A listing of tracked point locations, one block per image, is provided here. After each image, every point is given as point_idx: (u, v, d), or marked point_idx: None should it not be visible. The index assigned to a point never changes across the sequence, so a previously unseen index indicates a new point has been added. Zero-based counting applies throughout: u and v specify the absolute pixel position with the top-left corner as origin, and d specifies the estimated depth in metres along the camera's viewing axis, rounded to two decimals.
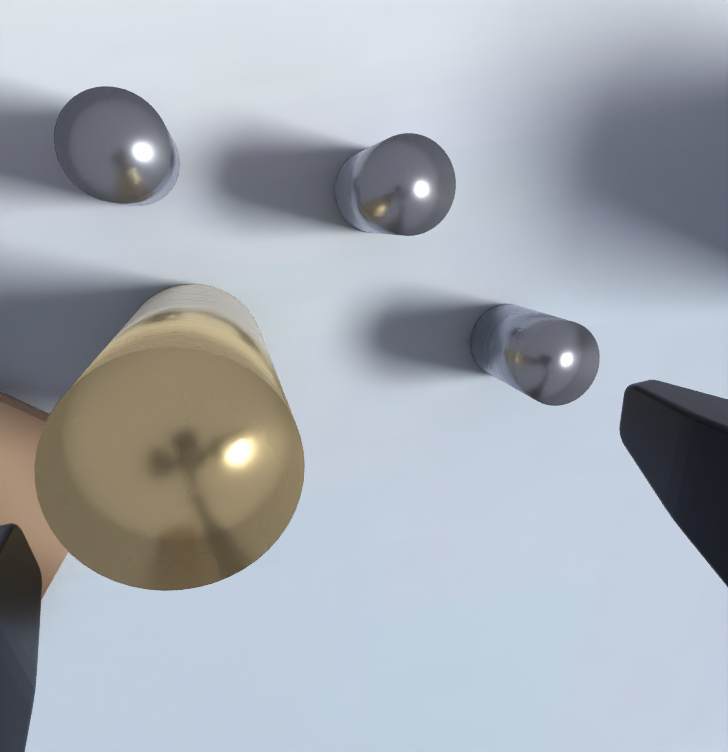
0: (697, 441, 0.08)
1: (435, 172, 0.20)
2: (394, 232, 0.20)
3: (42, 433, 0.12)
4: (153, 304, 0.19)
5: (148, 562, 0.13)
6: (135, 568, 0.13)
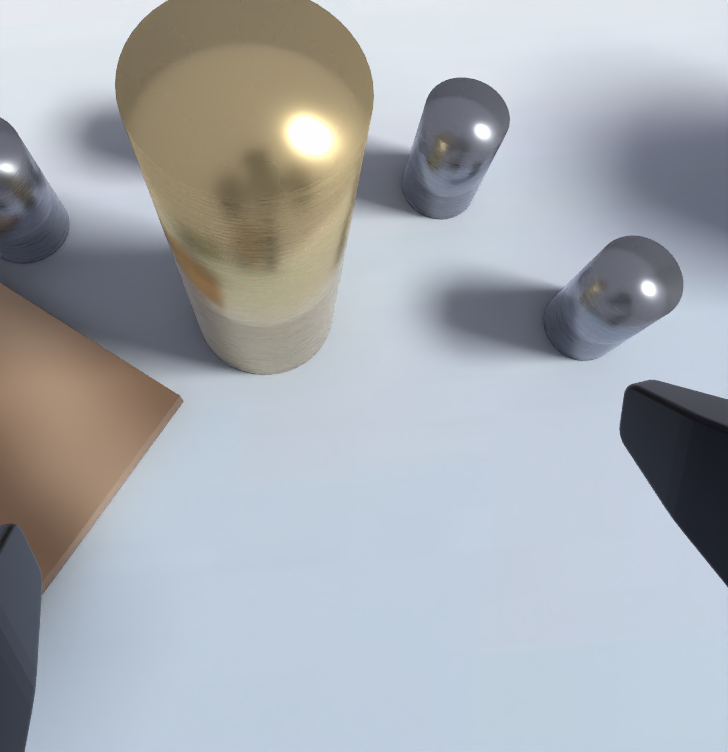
0: (697, 441, 0.08)
1: (490, 106, 0.22)
2: (456, 148, 0.22)
3: (133, 33, 0.13)
4: None
5: (208, 161, 0.12)
6: (194, 165, 0.12)
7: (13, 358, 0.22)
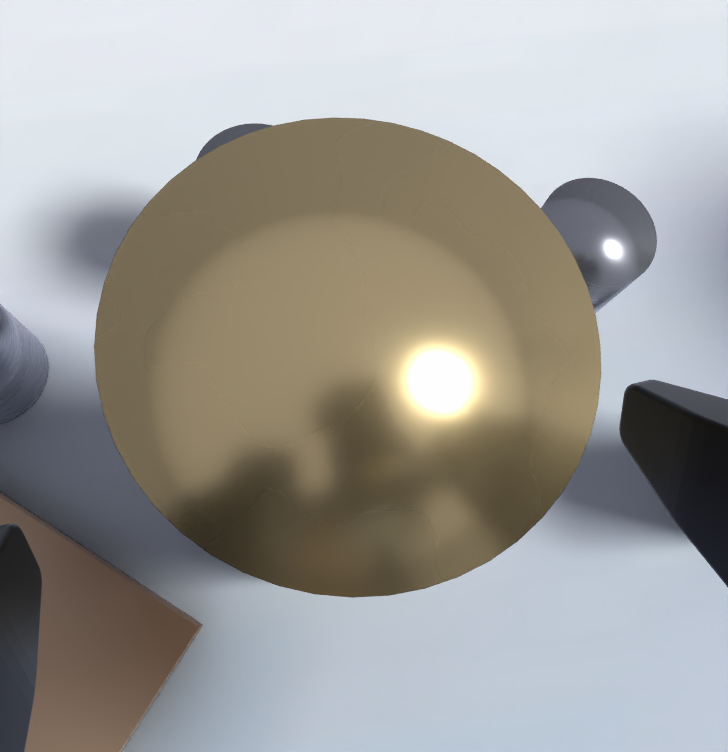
0: (697, 441, 0.08)
1: (628, 218, 0.16)
2: (587, 281, 0.15)
3: (132, 230, 0.06)
4: None
5: (288, 517, 0.06)
6: (259, 528, 0.06)
7: None
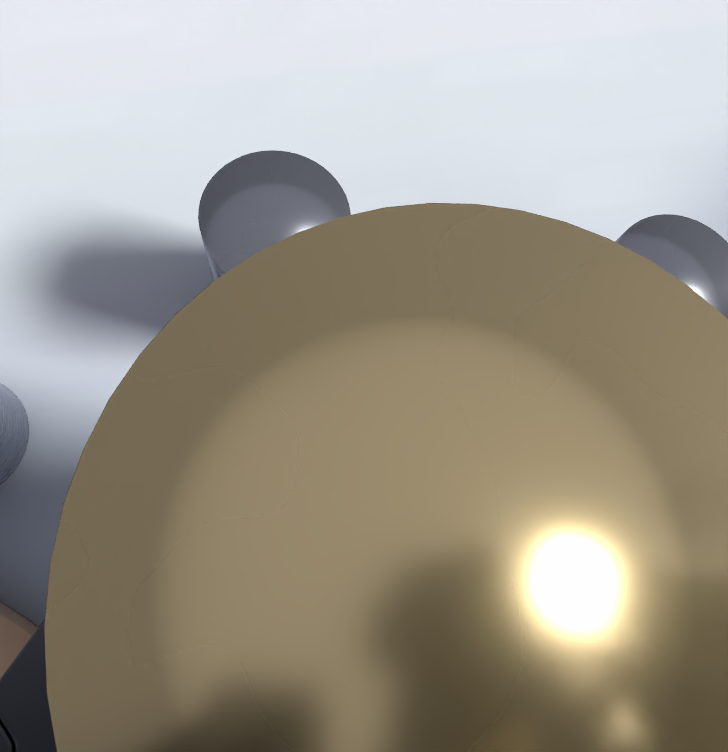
0: None
1: (715, 262, 0.14)
2: None
3: (112, 404, 0.04)
4: None
5: None
6: None
7: None
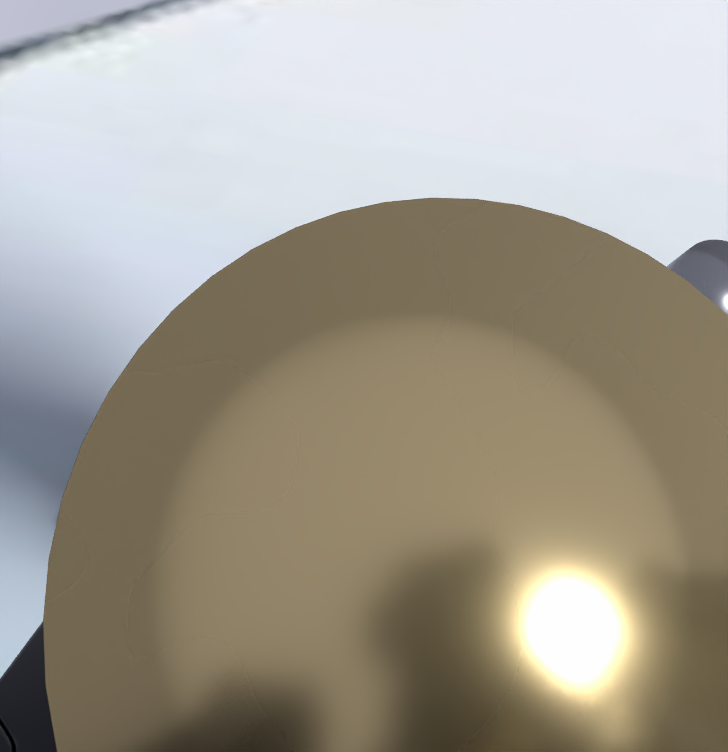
0: None
1: None
2: None
3: (111, 398, 0.04)
4: None
5: None
6: None
7: None
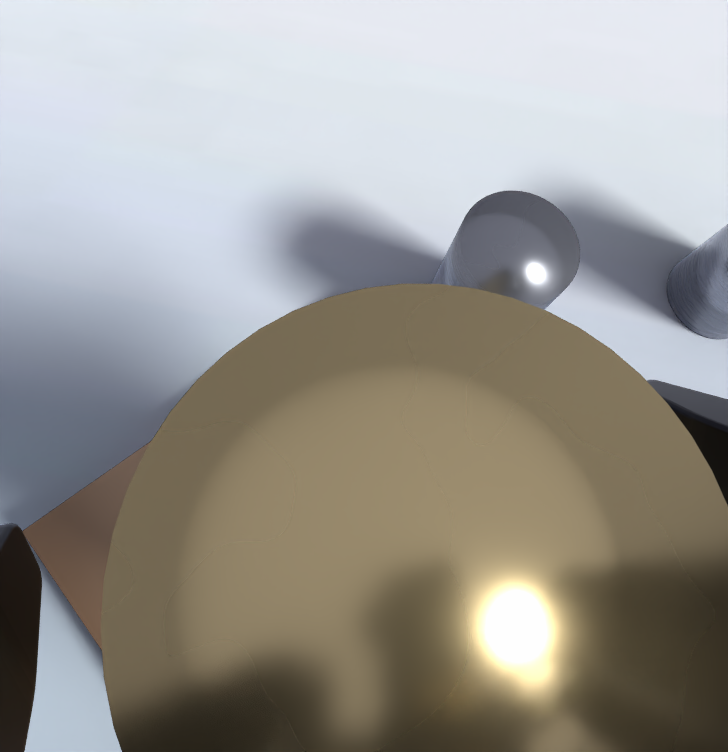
0: (697, 441, 0.08)
1: None
2: None
3: (148, 452, 0.05)
4: None
5: None
6: None
7: None
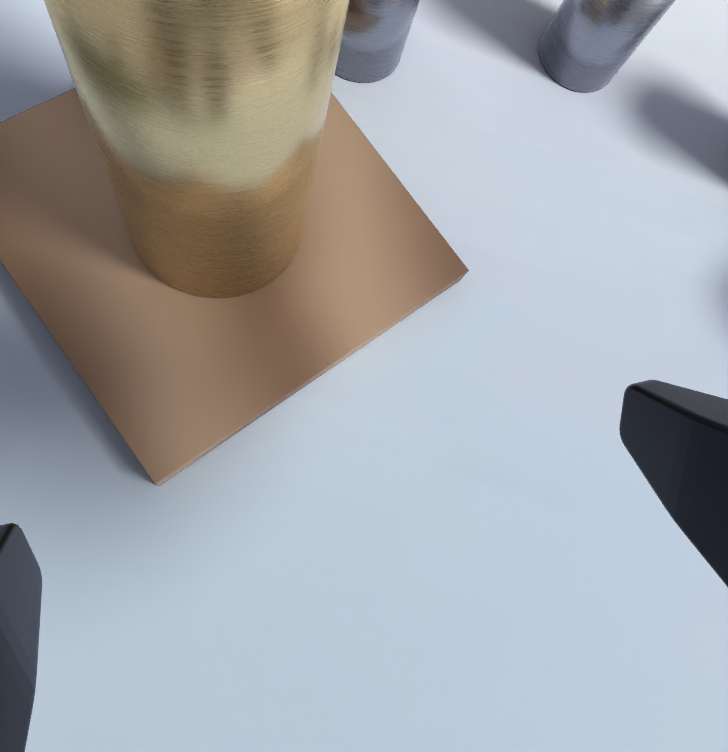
0: (697, 441, 0.08)
1: None
2: None
3: None
4: None
5: None
6: None
7: None
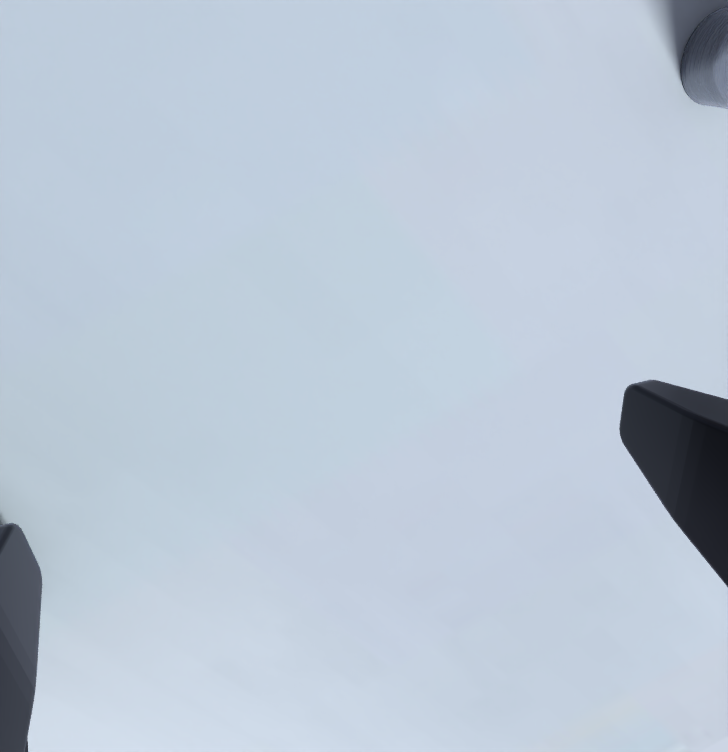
0: (697, 441, 0.08)
1: None
2: None
3: None
4: None
5: None
6: None
7: None
